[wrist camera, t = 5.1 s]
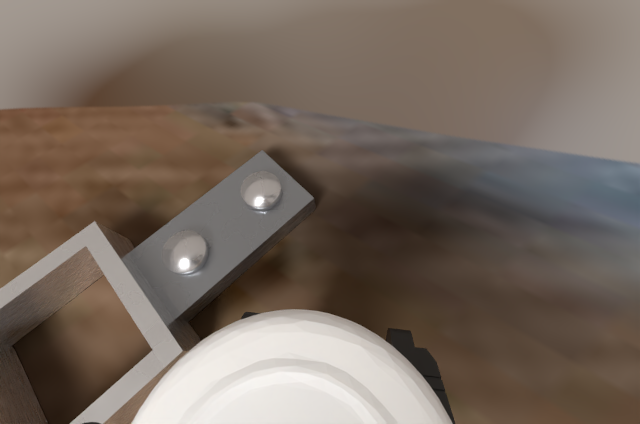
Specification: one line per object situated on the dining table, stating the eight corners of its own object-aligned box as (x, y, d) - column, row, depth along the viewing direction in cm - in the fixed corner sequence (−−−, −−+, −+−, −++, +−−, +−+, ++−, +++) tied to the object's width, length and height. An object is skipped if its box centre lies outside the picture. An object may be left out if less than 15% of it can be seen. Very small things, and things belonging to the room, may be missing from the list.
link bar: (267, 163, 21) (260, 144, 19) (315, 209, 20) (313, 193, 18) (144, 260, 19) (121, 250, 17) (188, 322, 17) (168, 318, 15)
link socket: (128, 238, 19) (94, 221, 17) (208, 350, 16) (183, 350, 14) (-11, 344, 17) (-77, 344, 14) (52, 495, 14) (-16, 531, 11)
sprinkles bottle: (364, 334, 16) (452, 298, 4) (373, 435, 14) (581, 932, 2) (281, 336, 16) (124, 310, 4) (279, 438, 15) (-14, 916, 2)
